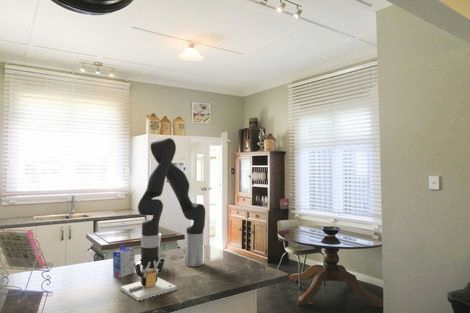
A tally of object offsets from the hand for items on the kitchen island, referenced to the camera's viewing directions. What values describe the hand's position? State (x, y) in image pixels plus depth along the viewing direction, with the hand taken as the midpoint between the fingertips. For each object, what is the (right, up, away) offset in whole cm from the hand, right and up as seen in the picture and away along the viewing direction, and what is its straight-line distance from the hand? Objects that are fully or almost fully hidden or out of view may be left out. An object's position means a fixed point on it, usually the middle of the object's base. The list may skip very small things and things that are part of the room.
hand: (149, 284), depth 142 cm
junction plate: (0, -2, 0) cm, 3 cm away
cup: (-8, -3, +32) cm, 33 cm away
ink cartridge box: (-18, -3, +19) cm, 26 cm away
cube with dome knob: (0, 0, 0) cm, 1 cm away
